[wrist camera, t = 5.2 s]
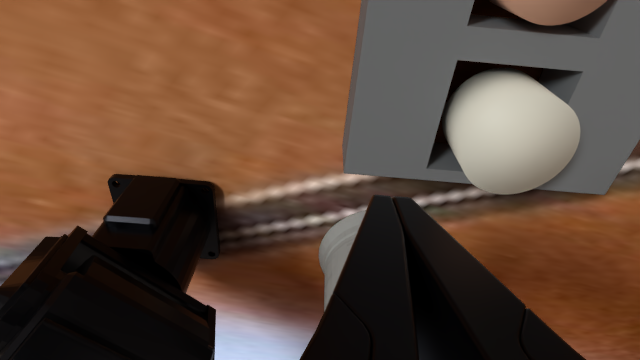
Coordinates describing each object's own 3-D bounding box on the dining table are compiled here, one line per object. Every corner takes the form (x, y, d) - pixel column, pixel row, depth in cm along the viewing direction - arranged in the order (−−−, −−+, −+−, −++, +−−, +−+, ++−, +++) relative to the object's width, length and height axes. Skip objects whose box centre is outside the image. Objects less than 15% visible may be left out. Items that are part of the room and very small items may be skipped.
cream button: (520, 160, 20) (550, 198, 17) (431, 152, 20) (448, 190, 17) (559, 72, 18) (602, 100, 15) (457, 63, 17) (481, 89, 15)
